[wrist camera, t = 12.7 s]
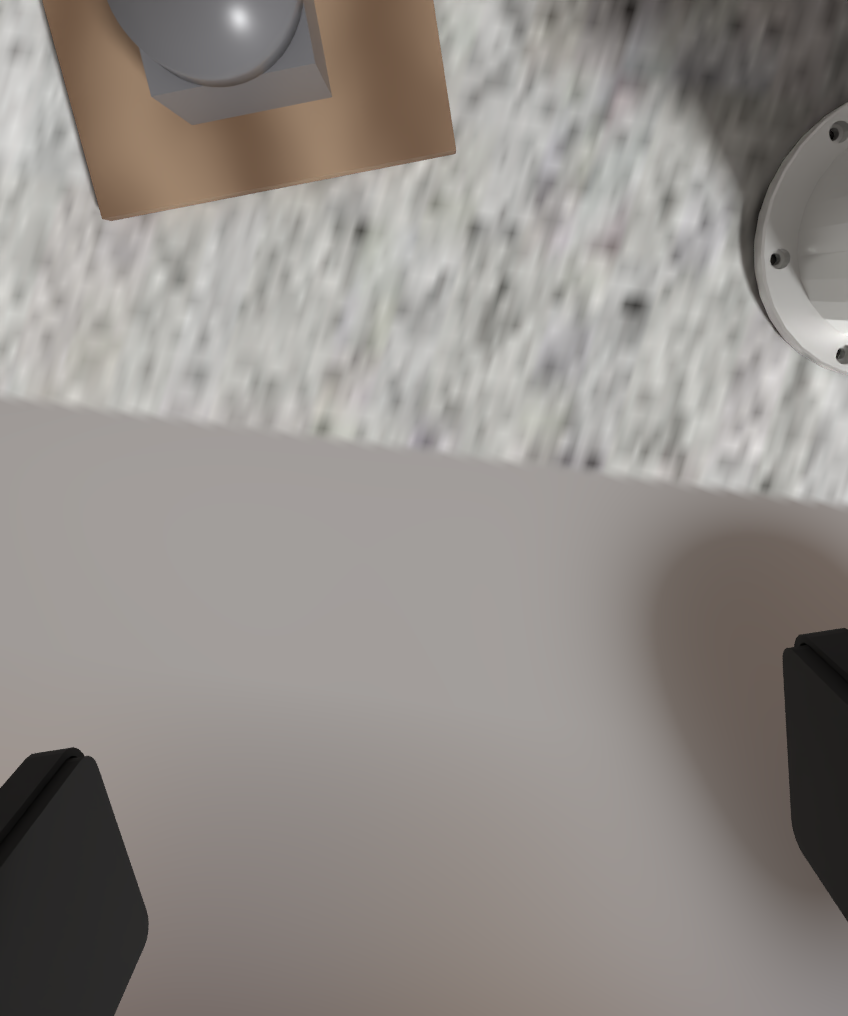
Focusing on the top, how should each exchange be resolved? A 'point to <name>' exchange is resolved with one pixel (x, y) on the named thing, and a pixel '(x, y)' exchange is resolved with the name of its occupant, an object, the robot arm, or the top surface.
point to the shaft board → (262, 135)
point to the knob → (227, 54)
